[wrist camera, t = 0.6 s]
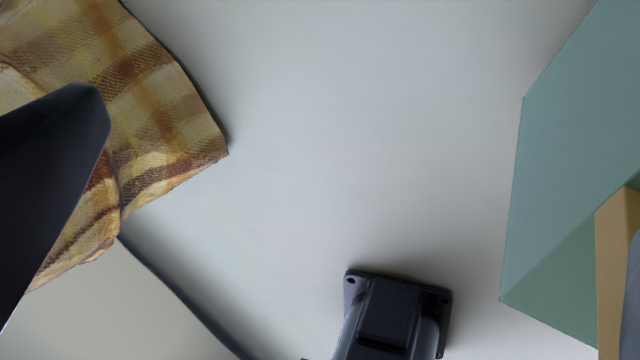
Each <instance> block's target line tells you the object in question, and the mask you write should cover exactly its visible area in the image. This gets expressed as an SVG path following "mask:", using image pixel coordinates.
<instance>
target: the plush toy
mask: <svg viewBox="0 0 640 360" xmlns="http://www.w3.org/2000/svg"><path fill="white" fill-rule="evenodd" d="M72 82H81V83H86V84H91V85H95V86H97V87H98V88H99V89H100V91H101V93H102V96H103V99H104V101H105V104H106V107H107V110H108V113H109V115H110V118H111V124H112V126H111V132H110V135H109V137H108V140H107V142H106V144H105V146H104V148H103V151H102V153H101V155H100V157H99V159H98V162H97V164H96V166H95V168H94V170H93V173H92V175H91V177H90V179H89V181H88V184H87V186H86V188H85V190H84V192H83V194H82V196H81V198H80V200H79V202H78V204H77V206H76V208H75V210H74V212H73V213H72V215H71V217H70V219H69V220H68V222H67V224H66V225H65V227H64V229H63V230H62V232H61V234H60V235H59V237H58V239H57V240H56V242H55V244H54V245H53V247H52V249H51V250H50V252H49V254H48V255H47V257H46V259H45V260H44V262H43V264H42V266H41V267H40V269H39V271H38V272H37V274H36V276H35V277H34V279H33V281H32V282H31V284H30V286H29V287H28V289H27V291H26V292H25V294H27V293H29V292H31V291H33V290H35V289H37V288H39V287H41V286H44V285H45V284H47V283H49V282H50V281H52V280H54V279H55V278H57V277H58V276H60V275H62V274H63V273H65V272H67V271H68V270H70V269H72V268H73V267H75V266H77V265H81V264H85V263H87V262H91V261H94V260H96V259H97V258H98V257H100V256H101V255H102V254H103V253H104V252H105V251H107V250H108V249H109V248H110V247H111V246H112V245H113V243H114V238H115V237H116V236H117V235H118V233H119V228H120V223H122V222H123V221H124V220H126V219H127V218H128V217H129V216H130V215H131V214H132V213H133V212H134V211H135V210H137V209H138V208H140V207H142V206H143V205H145V204H147V203H149V202H151V201H153V200H155V199H157V198H159V197H161V196H163V195H165V194H166V193H168V192H169V191H171V190H172V189H173V188H175V187H176V186H178V185H180V184H181V183H183V182H184V181H186V180H188V179H189V178H191V177H193V176H194V175H196V174H197V173H199V172H201V171H202V170H204V169H206V168H207V167H209V166H210V165H212V164H214V163H217V162H218V160H220V159H221V158H224V157H226V156H228V155H229V152H228V149H227V144H226V140H225V138H224V136H223V134H222V132H221V131H220V129H219V127H218V126H217V124H216V123H215V122H214V120H213V119H212V117H211V115H210V113H209V111H208V109H207V108H206V107H205V105H204V103H203V101H202V99H201V98H200V96H199V94H198V92H197V91H196V89H195V88H194V86H193V84H192V82H191V81H190V80H189V78H188V77H187V76H186V74H185V73H184V71H183V70H182V68H181V66H180V65H179V64H178V63H177V62H176V61H175V60H174V58H173V57H172V56H171V55H170V54H169V53H168V52H167V50H166V49H165V48H164V47H163V46H162V45H161V44H160V43H159V42H158V41H156V40H155V39H154V37H153V36H152V35H151V34H150V33H149V32H148V31H147V30H146V29H145V28H144V27H143V26H142V25H141V24H140V22H139V21H138V20H137V19H136V18H135V17H133V16H132V15H130V14H129V13H128V11H127V9H124V8H123V7H122V5H121V4H120V2H119V1H118V0H0V116H1V115H4V114H6V113H8V112H10V111H12V110H14V109H16V108H18V107H21V106H23V105H25V104H27V103H29V102H31V101H33V100H35V99H38V98H40V97H42V96H44V95H46V94H48V93H50V92H52V91H55V90H57V89H59V88H61V87H63V86H65V85H67V84H69V83H72ZM25 294H24V295H25Z"/></svg>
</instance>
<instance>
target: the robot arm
mask: <svg viewBox="0 0 640 360" xmlns="http://www.w3.org/2000/svg"><path fill="white" fill-rule="evenodd" d="M111 126H112V124H111V118H110V115H109V113H108V110H107V107H106V104H105V101H104V99H103V96H102V93H101V91H100V89H99V88H98V87H97V86H95V85H91V84H86V83H81V82H72V83H69V84H67V85H65V86H63V87H61V88H59V89H57V90H55V91H52V92H50V93H48V94H46V95H44V96H42V97H40V98H38V99H35V100H33V101H31V102H29V103H27V104H25V105H23V106H21V107H18V108H16V109H14V110H12V111H10V112H8V113H6V114H4V115H1V116H0V334H1V333H2V331H3V329H4V327H5V326H6V324H7V323H8V321H9V319H10V317H11V316H12V314H13V313H14V311H15V309H16V308H17V306H18V304H19V302H20V301H21V299H22V297H23V296H24V294H25V292H26V291H27V289H28V287H29V286H30V284H31V282H32V281H33V279H34V277H35V276H36V274H37V272H38V271H39V269H40V267H41V266H42V264H43V262H44V260H45V259H46V257H47V255H48V254H49V252H50V250H51V249H52V247H53V245H54V244H55V242H56V240H57V239H58V237H59V235H60V234H61V232H62V230H63V229H64V227H65V225H66V224H67V222H68V220H69V219H70V217H71V215H72V213H73V212H74V210H75V208H76V206H77V204H78V202H79V200H80V198H81V196H82V194H83V192H84V190H85V188H86V186H87V184H88V181H89V179H90V177H91V175H92V173H93V170H94V168H95V166H96V164H97V162H98V159H99V157H100V155H101V153H102V151H103V148H104V146H105V144H106V142H107V140H108V137H109V135H110V132H111ZM452 303H453V294H452V293H451V292H449V291H447V290H443V289H438V288H434V287H429V286H425V285H420V284H415V283H411V282H406V281H401V280H397V279H392V278H388V277H383V276H378V275H374V274H369V273H365V272H360V271H355V270H348V271H346V273H345V276H344V325H343V328H342V331H341V334H340V337H339V340H338V343H337V346H336V349H335V351H334V354H333V357H332V360H435V359H441V358H442V357H443V354H444V349H445V343H446V337H447V331H448V326H449V320H450V314H451V308H452ZM301 360H307V359H304V358H301ZM619 360H640V227H639V228H638V230H637V232H636V233H635V235H634V237H633V239H632V241H631V244H630V248H629V255H628V264H627V273H626V282H625V291H624V300H623V309H622V318H621V327H620V338H619Z"/></svg>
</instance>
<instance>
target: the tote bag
mask: <svg viewBox="0 0 640 360" xmlns="http://www.w3.org/2000/svg"><path fill="white" fill-rule="evenodd" d="M639 227H640V0H598V1H597V2H596V4H595V5H594V6H593V7H592V9H591V10H590V11H589V13H588V14H587V15H586V17H585V18H584V19H583V20H582V22H581V23H580V24H579V26H578V27H577V28H576V30H575V31H574V32H573V33H572V35H571V36H570V37H569V39H568V40H567V41H566V43H565V44H564V45H563V47H562V48H561V49H560V50H559V52H558V53H557V54H556V56H555V57H554V58H553V60H552V61H551V62H550V63H549V65H548V66H547V67H546V69H545V70H544V71H543V73H542V74H541V75H540V76H539V78H538V79H537V80H536V82H535V83H534V84H533V86H532V87H531V88H530V89H529V91H528V92H527V93H526V95H525V96H524V97H523V101H522V109H521V117H520V126H519V134H518V142H517V151H516V159H515V167H514V176H513V184H512V192H511V201H510V209H509V217H508V226H507V234H506V242H505V251H504V259H503V267H502V276H501V284H500V292H499V301H500V302H502V303H504V304H506V305H508V306H510V307H512V308H514V309H516V310H518V311H520V312H522V313H525V314H527V315H529V316H531V317H533V318H535V319H537V320H539V321H541V322H543V323H545V324H547V325H549V326H551V327H553V328H555V329H557V330H559V331H561V332H563V333H565V334H567V335H569V336H571V337H573V338H575V339H577V340H579V341H581V342H583V343H586V344H588V345H590V346H592V347H594V348H596V349H598V356H599V360H619V338H620V327H621V318H622V309H623V300H624V291H625V282H626V273H627V264H628V255H629V248H630V244H631V241H632V239H633V237H634V235H635V233H636V232H637V230H638V228H639Z"/></svg>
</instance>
